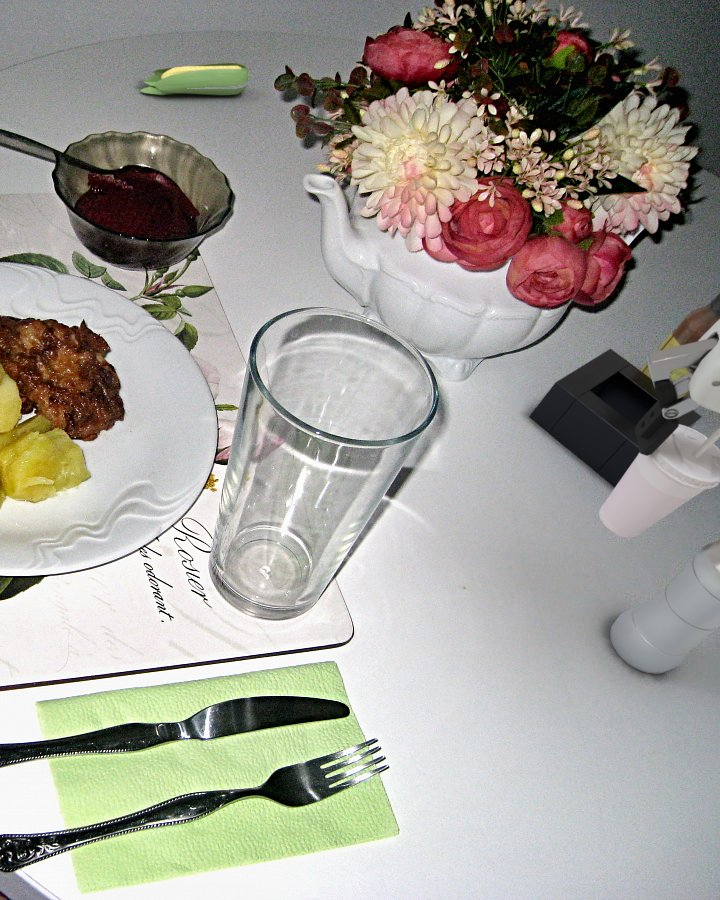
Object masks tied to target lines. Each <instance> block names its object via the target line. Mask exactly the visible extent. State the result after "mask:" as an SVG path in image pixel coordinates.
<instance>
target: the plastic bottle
mask: <svg viewBox="0 0 720 900" xmlns="http://www.w3.org/2000/svg"><path fill="white" fill-rule="evenodd" d="M718 629H720V539H719V540H715V541H713V542H710V543H707V544H706V545H704V546H703V547H702V548H701V549H700V550H699V551H698V552H697V553H696V554H695V555H694V556H693V557H692V559H691V560H690V561H689V562H688V563H687V565H686V566H685V567H684V568H683V570H682V571H681V572H680V573H679V574H678V575H676V576H675V578H673V579H672V580H671V581H670V583H668V584H667V585H665V587H664V588H663V589H662V590H660V591H658V592H657V593H655V594H653V595H652V596H651V597H649V598H647V599H646V600H644V601H643V602H641V603H638V604H635V605H634V606H632V607H629V608H628V609H626V610H625V611H623V612H622V613H620V614H619V616H618V617H617V618H616V619H615V621H614V622H613V624H612V625H611V626H610V642H611V644H612V647H613V648H614V650H615V652H616V653H617V655H618V656H619V657H620V658H621V659H622V660H623V661H624V662H625V663H627V664H628V665H629V666H631V667H633V668H634V669H636V670H638V671H640V672H644V673H647V674H655V675H656V674H663V673H665V672H668V671H670V670H673V669H676V668H677V667H679V666H680V665H681V664H682V663H683V662H684V661H685V660H686V659H687V658H688V657H689V655H690V654H691V652H692V651H693V650H694V649H695V648H696V647H697V646H698V645H700V643H702V641H703V640H705V639H706V638H707V637H708V636H709V635H711V633H713V632H715V631H716V630H718Z"/></svg>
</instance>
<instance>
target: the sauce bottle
mask: <svg viewBox="0 0 720 900" xmlns="http://www.w3.org/2000/svg"><path fill="white" fill-rule="evenodd" d="M719 319H720V292H718V294H717V295H716V296H715V297H714V298H712V300H711V301H710V302H709V303H708V304H706V305H705V306H702V307H700V308H696V309H694V310H692V311H690V313H688V314H687V315H686V316H685V317H684V318H683V320H682V321H681V322H680V323H679V325H678V326H677V327H676V328H675V329H673V330H672V332H671V333H670V334H669V335H668V337H667V338H665V340H664V341H663V342H662V343H661V344H660V346H659V347H658V349H656V351H659V350H663V349H668V348H672V347H676V346H680V345H685V344H689V343H693V342H698V341H699V339H700V338H701V337H702V336H703V335H704V334H705V333H706V332H707V331H708V330H709V329H710V328H711V327H712V326H713V325H714V324H715V323H716V322H717V321H718V320H719ZM639 370H640V371H642V372H643V373H644V374H646V375H647V376H648V377H650V378H651V375H650V372H649V368H648V363H647V362H646V363H645V364H644V365H643V366H642V368H641V369H639ZM689 372H690V371H688V370H687V369H686V368H681V369H676V370H673V371H672V372H671V373H670V375H671V379H672V381H674V380H676V379H678V378H679V377H681V376H683V375H685V374H687V373H689ZM689 393H690V391H688V392H686V393H684V394H682V395H680V396H678V399H679V398H681V397H683V396H685V395H687V394H689Z"/></svg>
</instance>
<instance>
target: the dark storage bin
mask: <svg viewBox="0 0 720 900" xmlns="http://www.w3.org/2000/svg"><path fill="white" fill-rule="evenodd" d="M640 370H641V369H639V368H638V367H636V366H635V365H633V364H632V363H631V362H629V361H628V360H627V359H625V358H624V357H623V356H622V355H620V354H619V353H617V352H616V351H615V350H614V349H612V348H609V349H607V350H606V351H604V352H602V353H601V354H599V355H598V356H596V357H594V358H593V359H591V360H589V361H588V362H586V363H584V364H582V365H581V366H580V367H578V368H577V369H575V370H573V371H572V372H570V373H568V374H567V375H565V376H564V377H562V378H560V379H558V380H557V381H555V383H554V384H552V386H551V388H550V389H549V390H548V391H547V393H546V394H545V395H544V396H543V398H542V399H541V400H540V401H539V403H538V404H537V405H536V407H535V408H534V409H533V411H532V412H531V413H530V414H529V415H528V418H529V419H530V420H532V421H533V422H534V423H535V424H537V426H539V427H540V428H541V429H543V430H544V432H546V433H548V434H549V435H550V436H551V437H552V438H554V439H555V441H557V442H558V443H560V444H561V445H562V446H563V447H564V448H565V449H567V450H568V451H569V452H570V453H572V454H573V455H574V456H575V457H576V458H578V459H579V460H580V461H581V462H583V463H584V464H585V465H586V466H587V467H589V468H590V469H591V470H592V471H594V472H595V473H596V474H597V475H598V476H599V477H601V478H602V479H603V480H605V481H606V482H607V483H608V484H610V485H611V486H612V487H613V489H614V488H615V487H616V485H617V484H618V483H619V481H620V480H621V478H622V477H623V476H624V474H625V473H626V471H627V470H628V468H629V467H630V466H631V464H632V463H633V461H634V460H635V458H636V457H637V456H638V454H639V452H640V451H639V445H638V439H637V436H636V432H635V428H636V425H637V423H638V422H639V421H640V420H641V419H642V418H643V416H644V415H645V414H646V413H647V412H648V411H649V410H650V409H651V408H652V407H653V406H654V404H655V403H656V402H657V401H658V399H657V396H656V393H655V389H654V385H653V382H652V379H651V378H650V377H648V376H647V375H646V374H644V373H643V372H642V371H640ZM702 417H703V416H702V415H700V414H699V413H698V412H697V411H695V409H694V410H692V411H690V412H688V413H686V414H684V415H682V416H680V417H678V420H679V424H680V425H684V426H687V427H689V428H692V429H693V427H694V426H695V425H696V424H697V423H698V422H699V421H700V420H701V419H702Z"/></svg>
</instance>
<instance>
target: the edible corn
mask: <svg viewBox="0 0 720 900" xmlns="http://www.w3.org/2000/svg"><path fill="white" fill-rule="evenodd" d="M152 73H153V74H154V75H152V76H148V77H147V78H146V79H145V80H144V81H143V83H144V84H146V85H148V86H147V87H144V88H142V89H141V90H140V92H141V93H144V94H150V95H159V96H164V95H200V96H201V95H202V96H238V95H239V94H240V93H242V92H243V91H244V90H246V88H247V86H248V84H247V85H246V86H245V87H243V88H237V89H191V88H205V87H221V86H222V87H226V86H227V87H229V86H238V85H243V84H245V83H246V82H247V81H248V78H250V79H251V77H252V76H251V73H249V68H248V67H246V66H245V65H244V64H242V63H239V62H238V63H237V62H220V63H219V62H218V63H209V64H197V65H184V66H183V65H182V66H177V67H167V68H159V69H156V70H153V71H152ZM248 82H249V81H248ZM187 88H190V89H187Z"/></svg>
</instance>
